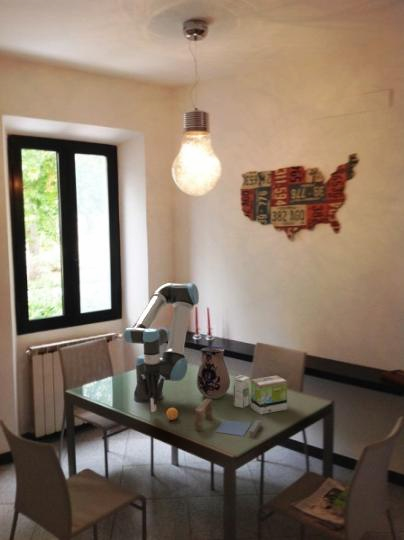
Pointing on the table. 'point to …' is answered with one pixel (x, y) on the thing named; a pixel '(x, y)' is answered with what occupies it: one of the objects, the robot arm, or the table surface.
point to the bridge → (199, 410)
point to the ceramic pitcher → (213, 373)
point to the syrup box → (241, 391)
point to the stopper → (255, 428)
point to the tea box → (268, 394)
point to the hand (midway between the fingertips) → (153, 410)
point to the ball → (172, 413)
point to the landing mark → (233, 428)
